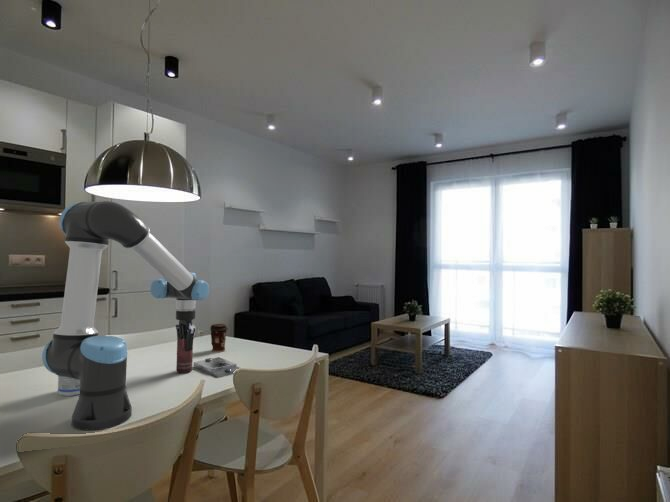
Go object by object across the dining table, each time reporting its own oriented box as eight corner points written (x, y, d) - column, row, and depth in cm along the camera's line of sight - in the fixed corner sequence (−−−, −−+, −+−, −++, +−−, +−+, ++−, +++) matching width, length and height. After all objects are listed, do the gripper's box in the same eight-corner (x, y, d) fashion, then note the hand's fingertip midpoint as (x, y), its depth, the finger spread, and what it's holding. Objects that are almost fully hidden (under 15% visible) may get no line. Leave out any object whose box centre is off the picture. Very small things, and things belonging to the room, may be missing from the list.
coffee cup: (205, 351, 194) (206, 325, 194) (215, 348, 202) (216, 322, 202) (220, 353, 192) (221, 326, 192) (230, 349, 200) (230, 324, 200)
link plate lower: (217, 377, 155) (217, 373, 155) (199, 369, 165) (199, 365, 165) (243, 371, 164) (243, 367, 164) (225, 364, 174) (225, 360, 174)
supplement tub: (68, 387, 141) (69, 346, 141) (95, 387, 141) (97, 346, 142) (51, 397, 131) (52, 353, 131) (81, 396, 132) (82, 352, 132)
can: (175, 374, 158) (176, 339, 158) (177, 369, 164) (178, 336, 164) (191, 373, 159) (192, 339, 159) (192, 368, 166) (193, 335, 166)
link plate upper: (210, 374, 159) (210, 368, 159) (193, 366, 169) (193, 360, 169) (236, 368, 167) (236, 362, 167) (218, 361, 177) (218, 355, 177)
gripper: (202, 310, 160) (200, 368, 160) (187, 307, 169) (185, 362, 169) (184, 312, 155) (182, 372, 154) (169, 308, 164) (168, 365, 163)
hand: (184, 366), depth 162 cm, fingers closed
